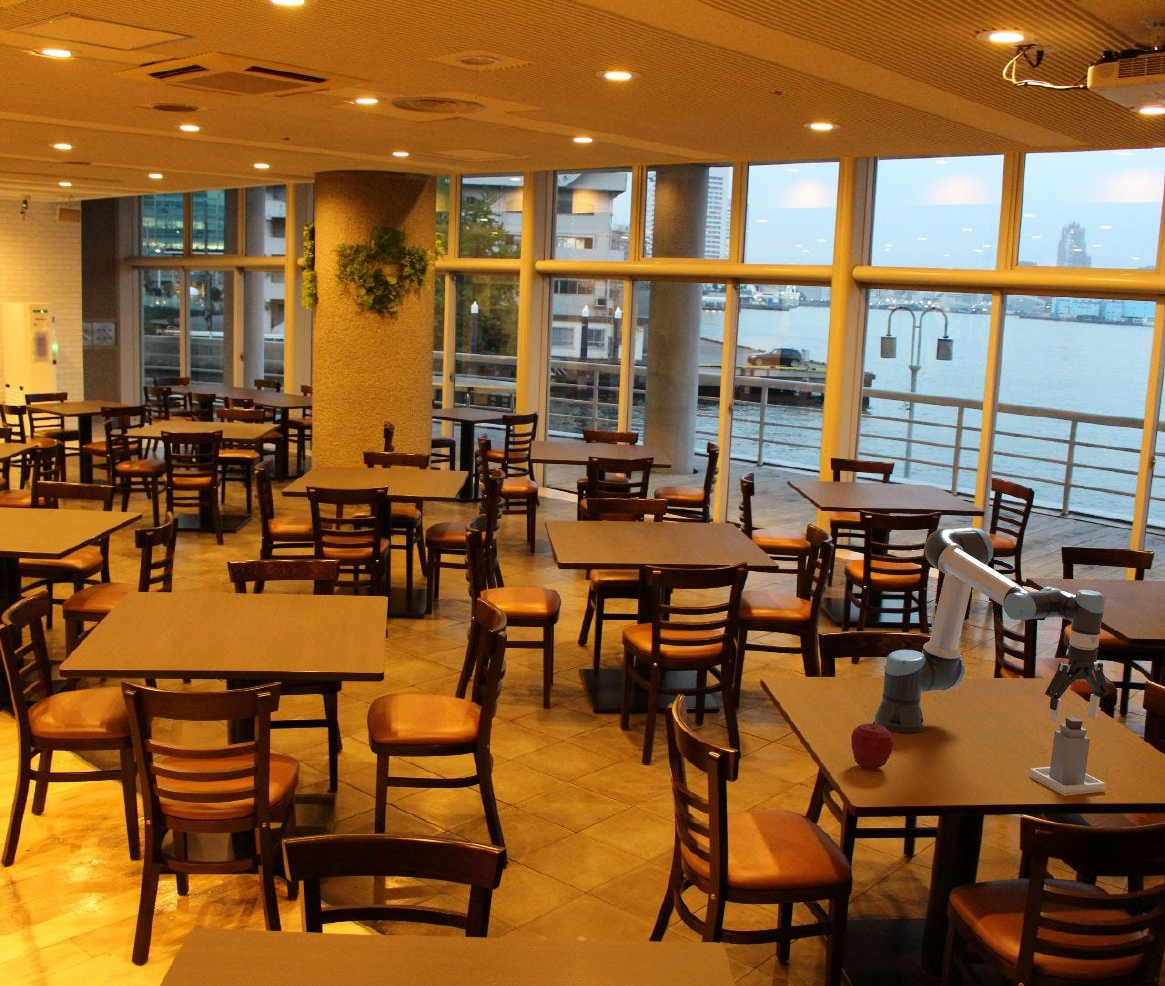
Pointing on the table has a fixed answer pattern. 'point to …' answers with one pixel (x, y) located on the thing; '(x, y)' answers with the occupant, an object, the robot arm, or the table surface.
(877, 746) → the apple
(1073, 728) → the perfume bottle
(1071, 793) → the tray
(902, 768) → the table surface
